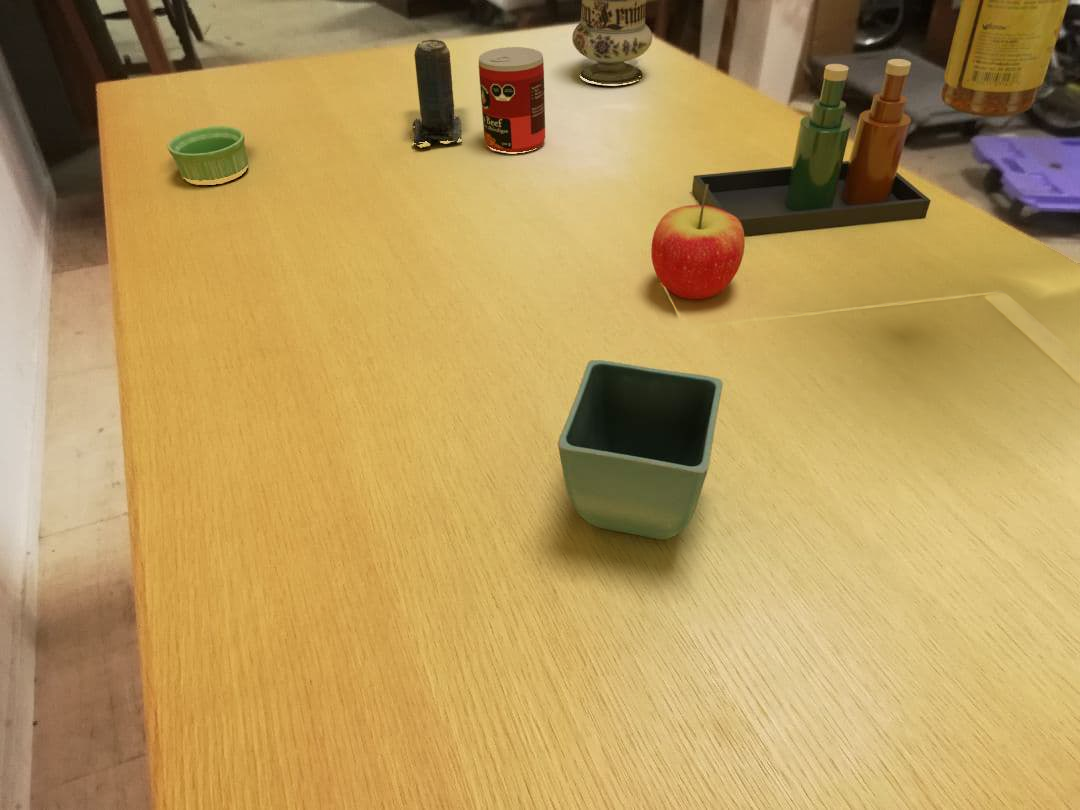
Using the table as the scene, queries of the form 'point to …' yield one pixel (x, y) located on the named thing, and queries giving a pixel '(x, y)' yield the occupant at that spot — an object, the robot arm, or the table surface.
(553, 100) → the table surface
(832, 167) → the green bottle
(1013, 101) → the sauce bottle
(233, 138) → the ramekin
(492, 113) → the canned food
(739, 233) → the apple
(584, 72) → the apothecary jar
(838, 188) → the tray
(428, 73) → the dark pillar on base
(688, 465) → the flower pot
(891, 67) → the amber bottle
